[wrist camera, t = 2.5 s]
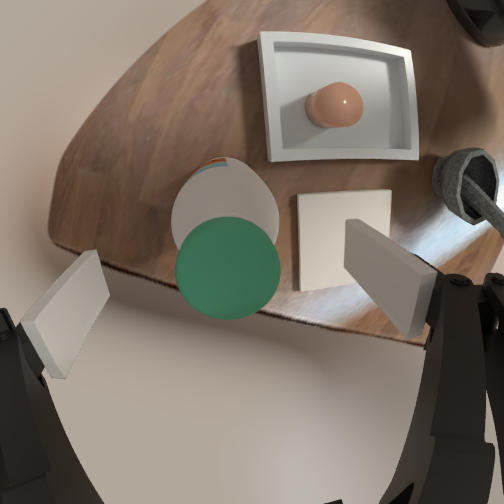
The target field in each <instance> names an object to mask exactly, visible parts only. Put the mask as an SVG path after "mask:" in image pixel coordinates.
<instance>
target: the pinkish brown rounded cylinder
mask: <svg viewBox="0 0 504 504" xmlns="http://www.w3.org/2000/svg"><path fill="white" fill-rule="evenodd" d="M305 112H306V115H307V117H308V119H309V120H310V121H311V122H312V123H313V124H314V125H316V126H318V127H320V128H337V127H349V126H352V125H354V124H356V123H357V122H358V121H359V120H360V118H361V116H362V114H363V101H362V98H361V96H360V94H359V93H358V91H357V90H356V89H355V88H353V87H352V86H351V85H349V84H346V83H343V82H335V83H332V84H330V85H327V86H325V87H323V88H321V89H319V90H317V91H315V92H313V93H311V94H310V95H309V96H308V98H307V99H306V102H305Z"/></svg>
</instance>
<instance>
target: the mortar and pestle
mask: <svg viewBox="0 0 504 504" xmlns="http://www.w3.org/2000/svg"><path fill="white" fill-rule="evenodd" d="M432 184H433V187H434V189H435V192H436V194H437V195H439V196H441V197H442V198H443V199H444V202H445V204H446V206H447V208H448V209H449V210H450V211H451V212H453V213H454V214H455V215H457V216H458V217H460V218H462V219H463V220H465V221H466V222H468V223H470V224H472V225H476V224H478V223H480V222H482V221H484V220H487V221H488V222H489V223H490V224H491V225H493V226H494V227H495V228H496V229H497V230H498V231H499V232H500V235H501V237H502V238H503V239H504V213H503V212H502V211H501V209H500V208H499V207H498V206H497V205H496V201H497V194H498V186H499V177H498V173H497V168H496V164H495V160H494V159H493V158H492V157H491V156H490V155H489V154H488V153H487V152H486V151H485V150H484V149H480V148H467V149H463V150H458V151H455V152H453V153H452V154H450V156H445V157H441V158H439V160H438V161H437V163H436V164H435V166H434V167H433V174H432Z"/></svg>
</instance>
